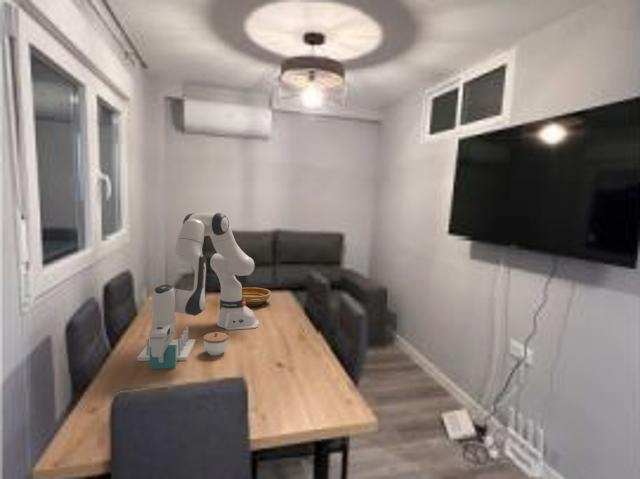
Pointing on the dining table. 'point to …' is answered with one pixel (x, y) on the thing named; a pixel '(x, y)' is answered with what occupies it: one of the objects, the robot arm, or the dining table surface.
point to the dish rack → (182, 344)
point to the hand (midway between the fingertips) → (163, 358)
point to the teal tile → (165, 358)
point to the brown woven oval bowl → (255, 295)
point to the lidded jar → (215, 343)
